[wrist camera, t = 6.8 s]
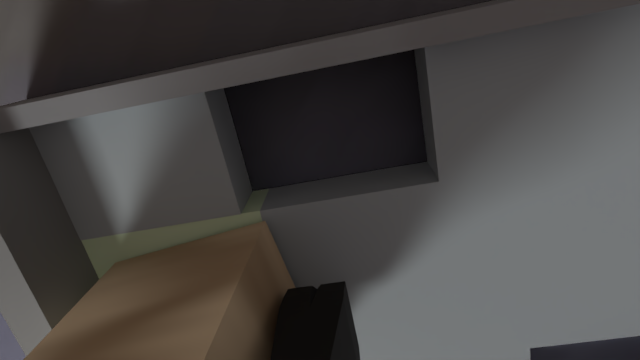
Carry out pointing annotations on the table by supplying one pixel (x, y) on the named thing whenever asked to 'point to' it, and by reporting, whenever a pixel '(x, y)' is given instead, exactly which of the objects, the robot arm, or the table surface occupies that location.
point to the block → (180, 304)
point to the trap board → (365, 184)
